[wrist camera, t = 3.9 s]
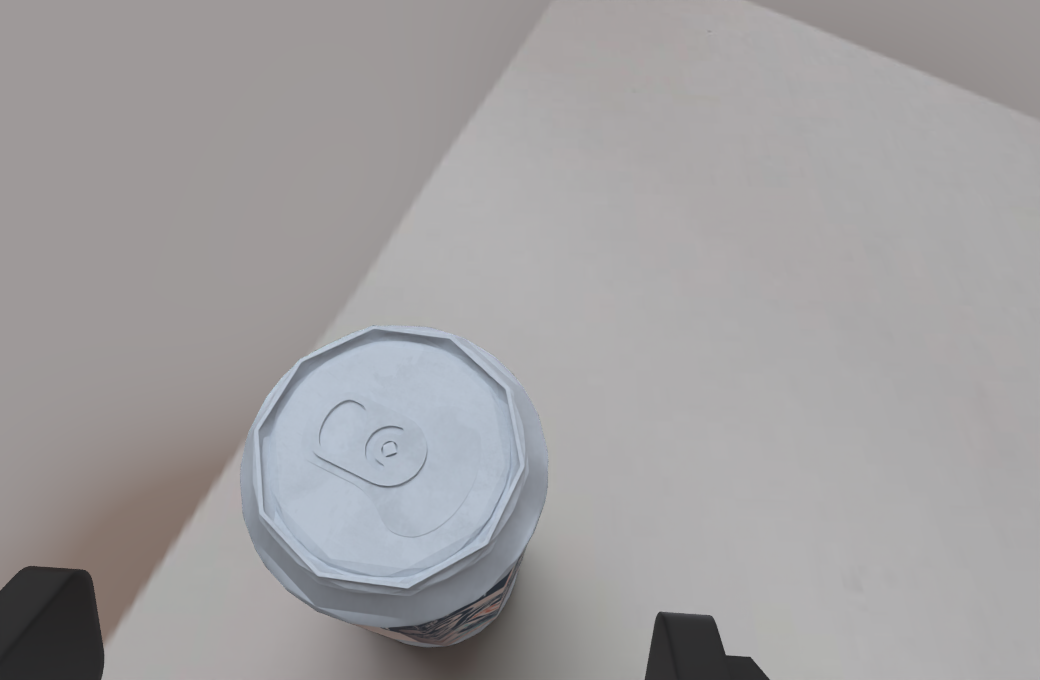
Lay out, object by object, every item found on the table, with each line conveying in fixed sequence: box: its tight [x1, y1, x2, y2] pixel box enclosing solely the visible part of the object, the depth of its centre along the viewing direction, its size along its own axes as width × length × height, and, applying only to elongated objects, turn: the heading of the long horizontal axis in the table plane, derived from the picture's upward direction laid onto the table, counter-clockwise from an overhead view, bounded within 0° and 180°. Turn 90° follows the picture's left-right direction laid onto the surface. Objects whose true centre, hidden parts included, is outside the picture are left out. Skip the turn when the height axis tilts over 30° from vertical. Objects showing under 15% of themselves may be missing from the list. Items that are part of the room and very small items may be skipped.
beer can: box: [240, 325, 548, 647], centre depth 17 cm, size 5×5×12 cm
